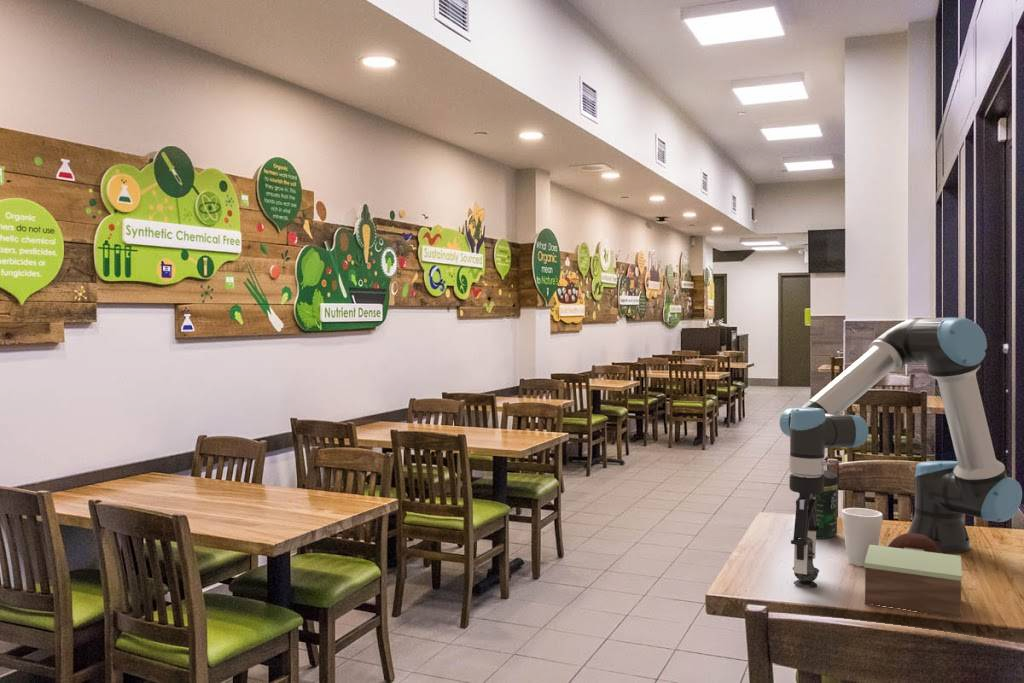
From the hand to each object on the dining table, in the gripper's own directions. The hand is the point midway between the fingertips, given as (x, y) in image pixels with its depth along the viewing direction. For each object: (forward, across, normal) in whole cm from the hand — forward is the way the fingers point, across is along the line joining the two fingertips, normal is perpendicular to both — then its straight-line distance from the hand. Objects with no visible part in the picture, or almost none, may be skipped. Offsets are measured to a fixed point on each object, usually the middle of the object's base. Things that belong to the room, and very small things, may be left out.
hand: (805, 565), depth 182 cm
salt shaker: (+5, 0, 0) cm, 5 cm away
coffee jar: (+4, +47, +2) cm, 48 cm away
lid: (-3, 0, -22) cm, 23 cm away
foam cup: (+4, +24, -10) cm, 27 cm away
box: (+4, 0, -22) cm, 23 cm away
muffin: (+4, +19, -22) cm, 30 cm away
